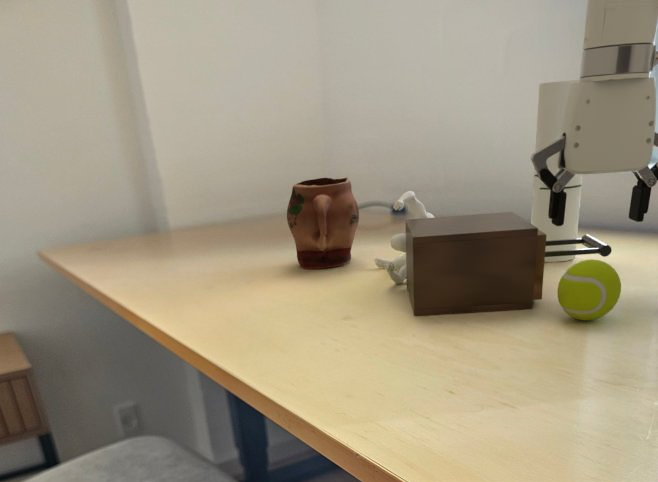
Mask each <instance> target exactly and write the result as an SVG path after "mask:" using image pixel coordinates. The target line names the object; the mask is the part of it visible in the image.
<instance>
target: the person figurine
mask: <svg viewBox="0 0 658 482" xmlns="http://www.w3.org/2000/svg"><path fill="white" fill-rule="evenodd" d="M405 204H407V208H408V210H409V211H410V212H411V213H412V215H413V218H412V219H421V218H435V216H434V215H433V214H432V213H431V212H428V211H426V207H425V205H424V203H423V202H421V201H420V200H418V198H417V197H416V193H415V192H414V191H412V190H408V191H406V192H404V193H403V194H402V195H401V196H400V197H399V198H398V200H396V201H395V202H394V204H393V205H392V208H393V209H394V210H395V211H402V210H403V209H404V207H405ZM390 246H391V248H392V249H393V250H395V251H397V252H400V253H401V252H402V253H403V254H402V255H399V256H396V257H395V258H393V259H389V258H383V257H375V258H373V261H374V265H376V266H377V267H378V268H384V269H385V271H386V272H387V274H388V275H389V278H390V280H391V281H392V282H393V283H395V285H402V284H403V283H404V282H405V280H407V274H406V231H404V233H403V232H402V233H397V234H393V236H392V237H391V238H390ZM396 271H398V272H396Z"/></svg>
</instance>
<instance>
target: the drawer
mask: <svg viewBox="0 0 658 482" xmlns="http://www.w3.org/2000/svg"><path fill="white" fill-rule="evenodd" d="M569 244H576V245H580V244H581V245H582V246H584V247H586V248H576V249H574V250H559V251H545V249H546V246H554V245H569ZM611 253H612V246H611V245H610V244H608V243H605V242H603V241H602V240H600V239H597V238H596V237H594V236H592V235H590V234H584V235H583V236H582V237H579V238H577V239H564V240H550V241H546V234H545V233H543V232H541V231H540V230H538V235H537V249H536V264H535V279H534V293H533V301H541V300H542V299H543V286H544V272H545V263H546V262H545V257H554V256H569V255H575V256H580V255H582V256H583V255H597V254H598V255H599V256H600V257H603V258H607V257H608V256H610V255H611Z"/></svg>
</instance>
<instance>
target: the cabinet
mask: <svg viewBox="0 0 658 482" xmlns="http://www.w3.org/2000/svg"><path fill="white" fill-rule="evenodd" d="M434 217H435V216H434ZM405 232H406V253H405V254H406V274H407V278H406V290H407V296H408V298H409V302H410V306H411V309H412V314H413V316H414V317H420V316H434V315H437V316H439V315H452V314H469V313H482V312H483V313H484V312H485V313H486V312H500V311H517V310H532V309H533V306H534V303H533V302H534V300H533V293H534V279H535V264H536V249H537V235H538V228H537V227H535V226H534V225H532V224H531V222H529V221H528V220H526V219H524V218H523V217H522V216H519V214H517V213H515V212H514V211H503V212H491V213H477V214H464V215H463V214H462V215H452V216H451V215H450V216H448V215H447V216H436V217H435V218H421V219H413V218H408V219H405Z"/></svg>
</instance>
